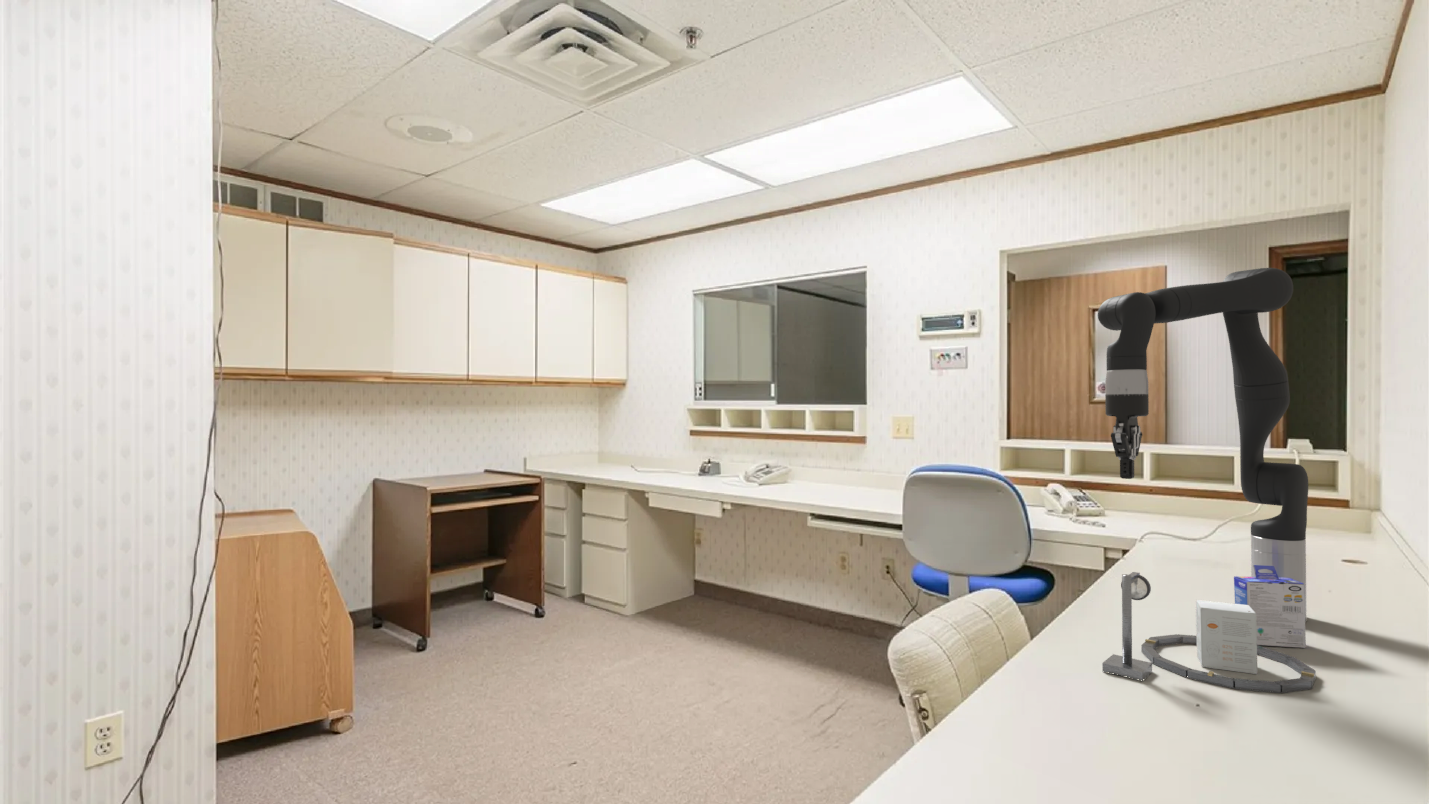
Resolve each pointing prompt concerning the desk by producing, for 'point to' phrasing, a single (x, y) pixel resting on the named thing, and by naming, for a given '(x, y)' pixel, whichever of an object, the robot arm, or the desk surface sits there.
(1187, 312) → the robot arm
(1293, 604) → the ink cartridge box
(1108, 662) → the dial gauge stand
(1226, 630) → the small box
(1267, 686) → the ring
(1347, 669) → the desk surface
